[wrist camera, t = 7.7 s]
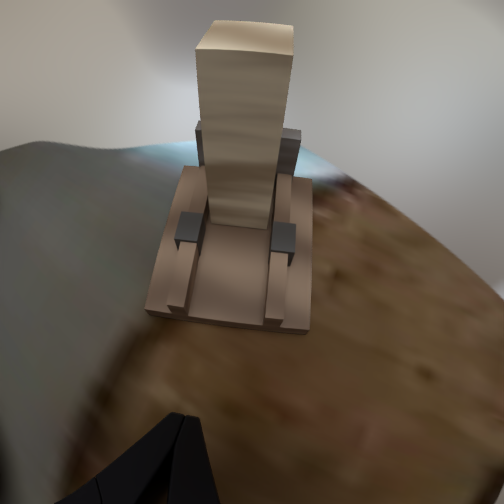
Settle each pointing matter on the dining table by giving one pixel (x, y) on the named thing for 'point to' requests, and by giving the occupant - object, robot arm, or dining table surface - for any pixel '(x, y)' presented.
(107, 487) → the robot arm
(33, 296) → the dining table surface
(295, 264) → the peg housing
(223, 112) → the birch peg
